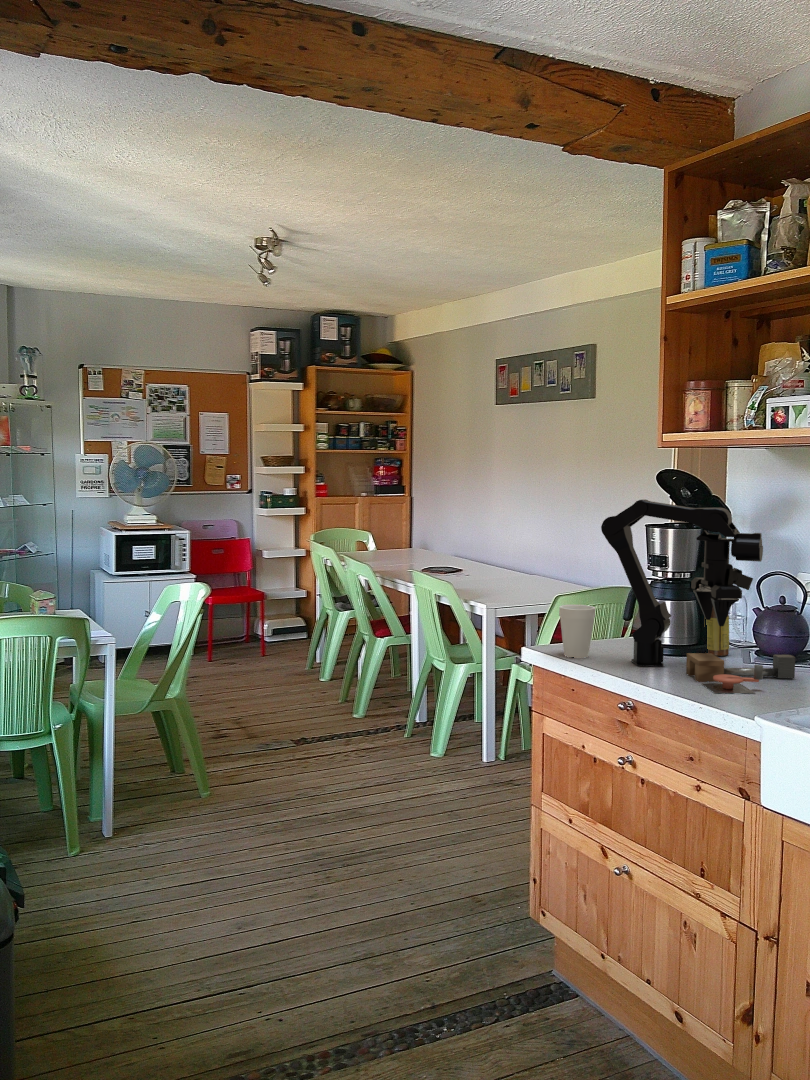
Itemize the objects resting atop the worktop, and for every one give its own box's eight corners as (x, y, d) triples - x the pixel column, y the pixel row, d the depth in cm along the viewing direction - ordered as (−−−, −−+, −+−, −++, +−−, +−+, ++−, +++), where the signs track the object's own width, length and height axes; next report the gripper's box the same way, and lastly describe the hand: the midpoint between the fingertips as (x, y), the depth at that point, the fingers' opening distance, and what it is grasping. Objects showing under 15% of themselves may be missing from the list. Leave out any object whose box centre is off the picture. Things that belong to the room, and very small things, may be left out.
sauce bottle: (725, 652, 252) (728, 579, 250) (731, 657, 246) (734, 582, 244) (700, 651, 252) (703, 579, 251) (706, 656, 246) (708, 582, 245)
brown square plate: (715, 693, 206) (715, 692, 206) (701, 684, 215) (701, 683, 215) (755, 693, 206) (755, 692, 206) (739, 684, 215) (739, 683, 215)
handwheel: (715, 690, 208) (716, 667, 208) (710, 683, 214) (711, 661, 214) (765, 692, 207) (766, 668, 206) (758, 685, 213) (759, 662, 212)
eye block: (698, 681, 217) (698, 660, 217) (686, 673, 226) (686, 653, 226) (723, 681, 218) (724, 660, 217) (710, 673, 226) (711, 653, 226)
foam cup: (572, 660, 240) (573, 610, 239) (551, 654, 248) (552, 605, 247) (601, 657, 244) (603, 608, 243) (579, 651, 252) (580, 603, 251)
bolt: (723, 678, 220) (724, 657, 220) (718, 675, 223) (719, 654, 223) (794, 678, 221) (795, 657, 220) (789, 675, 224) (789, 654, 223)
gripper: (765, 563, 217) (762, 629, 219) (735, 555, 236) (732, 616, 237) (717, 563, 217) (715, 629, 218) (691, 555, 236) (689, 616, 237)
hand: (714, 622), depth 228 cm, fingers open, 9 cm apart
